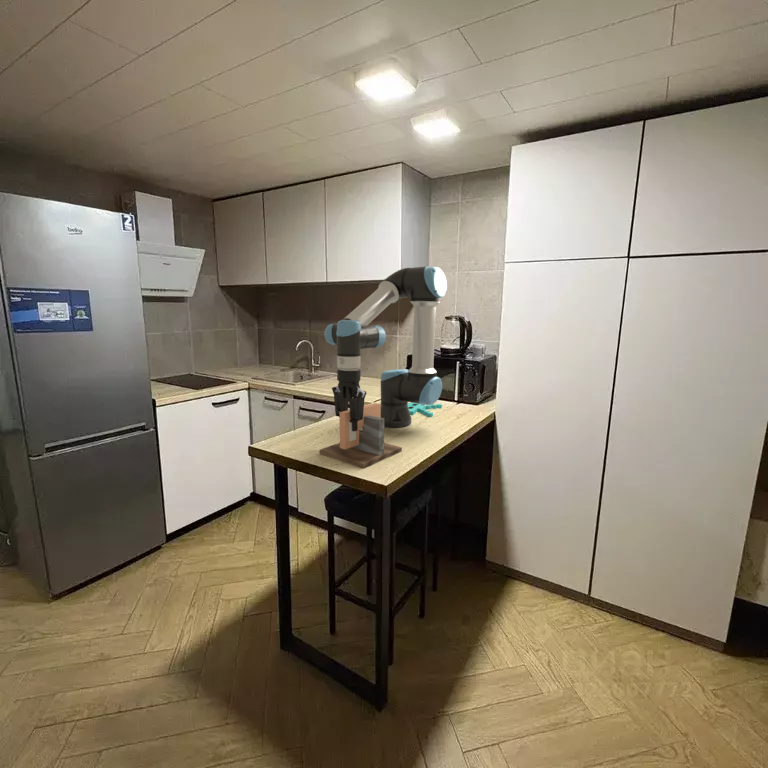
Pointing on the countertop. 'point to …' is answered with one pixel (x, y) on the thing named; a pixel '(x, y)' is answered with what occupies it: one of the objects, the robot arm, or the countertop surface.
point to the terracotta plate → (344, 424)
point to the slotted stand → (365, 446)
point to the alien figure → (422, 408)
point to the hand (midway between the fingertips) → (348, 439)
